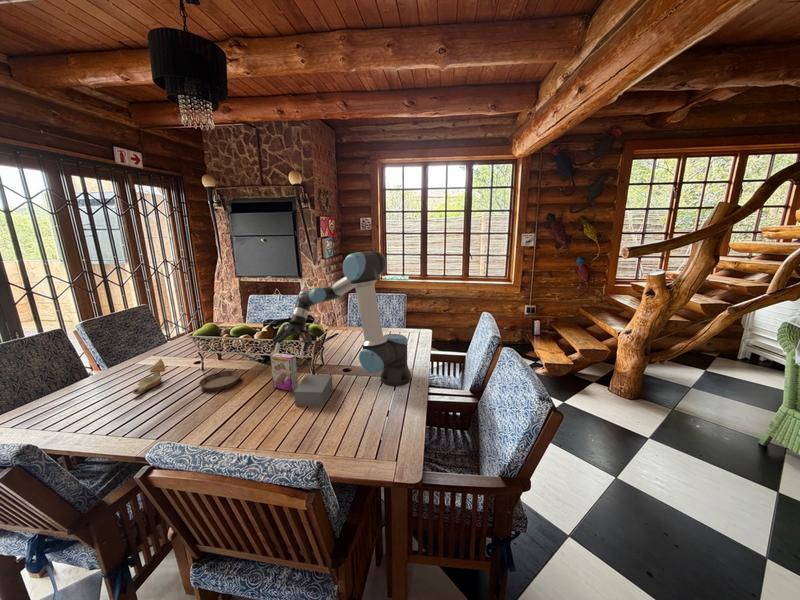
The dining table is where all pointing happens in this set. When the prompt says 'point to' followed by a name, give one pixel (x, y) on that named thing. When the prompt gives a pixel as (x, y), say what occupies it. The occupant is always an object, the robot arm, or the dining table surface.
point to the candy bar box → (284, 371)
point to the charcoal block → (313, 390)
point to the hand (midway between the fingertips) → (287, 356)
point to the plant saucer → (219, 380)
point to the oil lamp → (151, 378)
